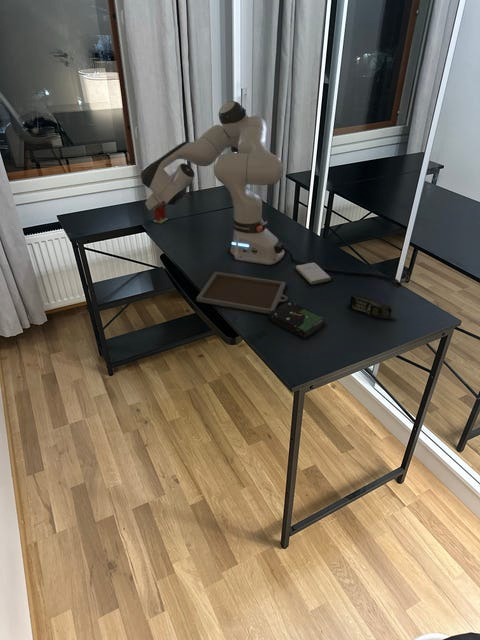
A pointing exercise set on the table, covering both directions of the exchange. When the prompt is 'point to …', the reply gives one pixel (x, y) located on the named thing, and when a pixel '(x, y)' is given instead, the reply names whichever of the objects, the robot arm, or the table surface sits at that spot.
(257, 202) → the robot arm
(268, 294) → the brown grey flat panel
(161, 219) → the tile
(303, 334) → the disk drive
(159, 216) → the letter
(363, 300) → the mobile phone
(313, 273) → the hard drive
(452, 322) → the table surface
